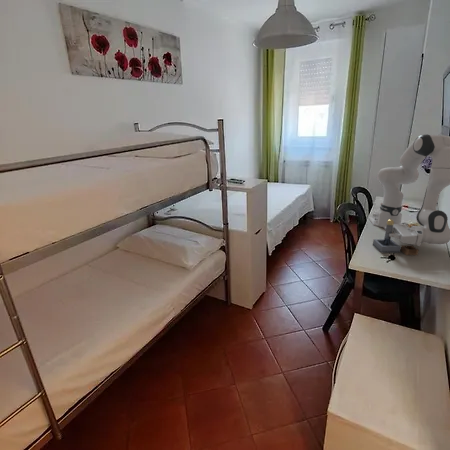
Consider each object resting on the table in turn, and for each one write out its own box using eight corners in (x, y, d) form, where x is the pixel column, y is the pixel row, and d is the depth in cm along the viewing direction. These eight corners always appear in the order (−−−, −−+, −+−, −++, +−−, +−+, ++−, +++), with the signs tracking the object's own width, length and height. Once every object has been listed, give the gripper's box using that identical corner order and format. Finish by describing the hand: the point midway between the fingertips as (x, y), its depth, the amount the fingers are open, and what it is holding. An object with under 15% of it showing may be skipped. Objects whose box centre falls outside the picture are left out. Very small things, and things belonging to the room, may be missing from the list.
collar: (400, 250, 168) (401, 245, 167) (411, 250, 168) (412, 245, 167) (406, 255, 163) (407, 249, 162) (417, 255, 163) (418, 250, 162)
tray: (372, 244, 175) (373, 239, 174) (390, 245, 175) (391, 239, 174) (380, 252, 165) (382, 246, 164) (399, 252, 165) (400, 246, 164)
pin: (381, 245, 171) (385, 218, 166) (387, 245, 171) (392, 218, 166) (384, 248, 168) (389, 220, 162) (390, 248, 168) (396, 220, 162)
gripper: (410, 222, 172) (383, 220, 175) (423, 235, 154) (393, 233, 156) (407, 232, 174) (381, 230, 177) (420, 247, 156) (391, 244, 159)
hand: (387, 231), depth 167 cm, fingers open, 8 cm apart
